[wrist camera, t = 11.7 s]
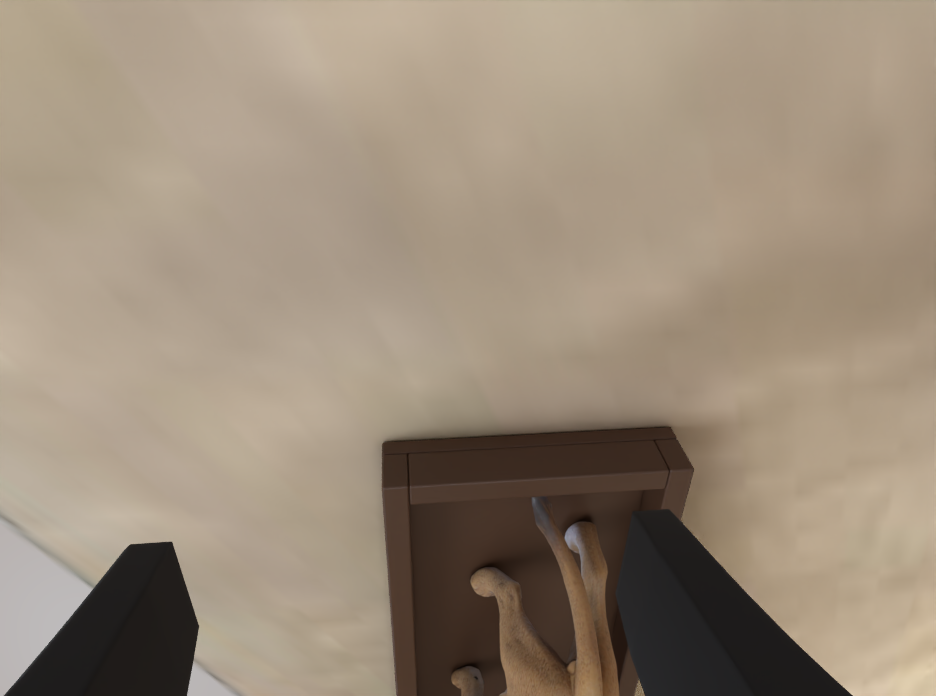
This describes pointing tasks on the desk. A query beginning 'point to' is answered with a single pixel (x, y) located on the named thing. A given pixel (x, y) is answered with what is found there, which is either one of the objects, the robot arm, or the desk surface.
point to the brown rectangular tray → (509, 540)
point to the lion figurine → (524, 650)
